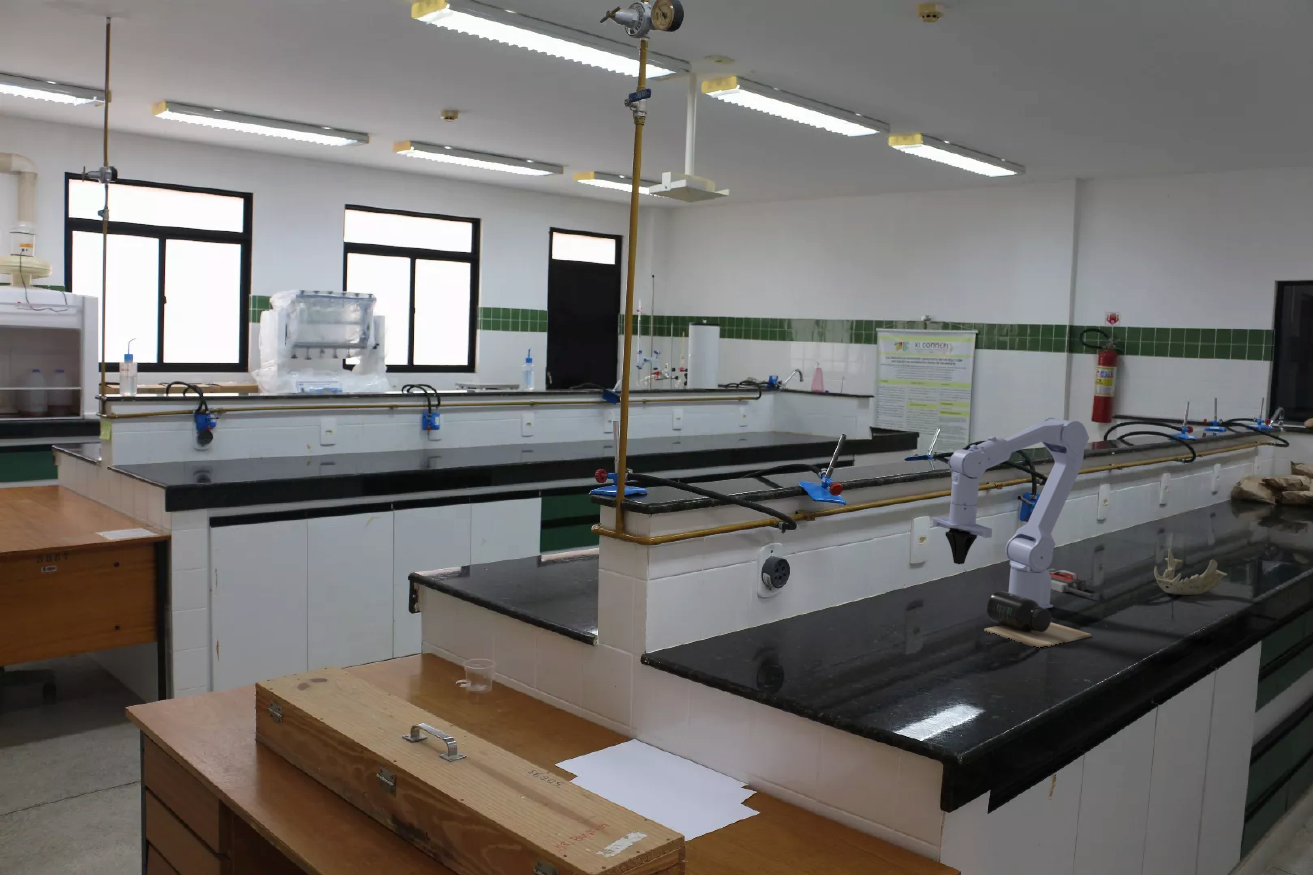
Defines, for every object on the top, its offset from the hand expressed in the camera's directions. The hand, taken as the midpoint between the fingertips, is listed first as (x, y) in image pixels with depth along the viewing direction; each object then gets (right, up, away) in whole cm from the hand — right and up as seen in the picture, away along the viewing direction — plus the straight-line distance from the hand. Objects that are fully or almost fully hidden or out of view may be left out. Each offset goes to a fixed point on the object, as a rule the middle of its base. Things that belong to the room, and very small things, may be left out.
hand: (959, 563), depth 222 cm
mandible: (+63, -11, +27) cm, 70 cm away
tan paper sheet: (+11, -13, -16) cm, 23 cm away
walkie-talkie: (+35, -10, +25) cm, 44 cm away
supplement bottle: (+5, -8, -10) cm, 14 cm away
